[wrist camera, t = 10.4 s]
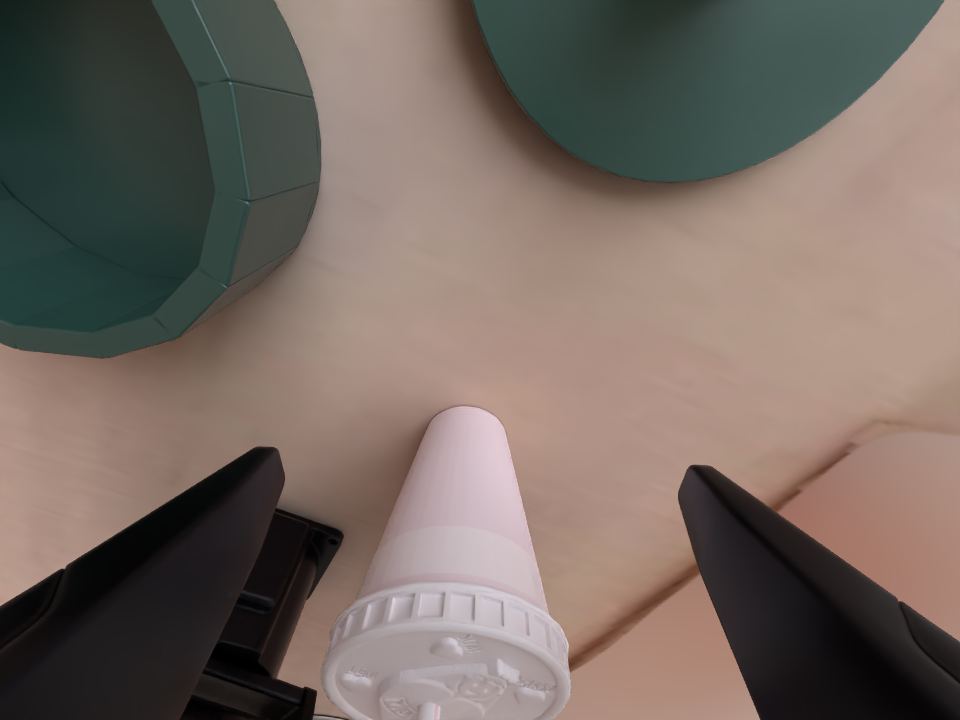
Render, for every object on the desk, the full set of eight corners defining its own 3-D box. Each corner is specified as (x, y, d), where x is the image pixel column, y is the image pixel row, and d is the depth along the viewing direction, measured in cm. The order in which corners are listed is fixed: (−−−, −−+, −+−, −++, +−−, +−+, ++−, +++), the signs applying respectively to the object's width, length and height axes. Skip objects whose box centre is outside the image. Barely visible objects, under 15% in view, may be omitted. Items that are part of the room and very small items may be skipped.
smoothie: (366, 433, 19) (129, 1014, 6) (470, 352, 16) (412, 1000, 4) (462, 507, 21) (423, 1040, 9) (564, 444, 19) (705, 1040, 6)
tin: (268, 345, 16) (193, 418, 12) (-75, 194, 14) (-323, 220, 9) (377, 23, 11) (314, -42, 7) (-129, -315, 9) (-702, -732, 4)
